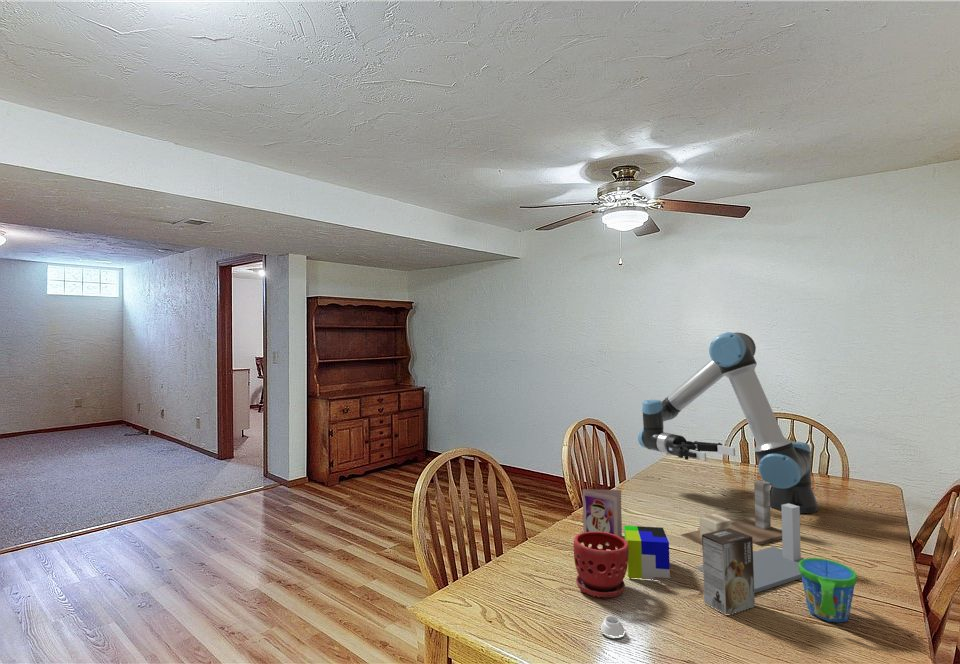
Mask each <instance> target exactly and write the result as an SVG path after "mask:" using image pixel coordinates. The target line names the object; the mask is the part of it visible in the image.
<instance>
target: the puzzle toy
mask: <svg viewBox="0 0 960 664" xmlns="http://www.w3.org/2000/svg"><path fill="white" fill-rule="evenodd" d="M624 539H625V540H626V541H627V542H628V545H629V556H628V565H627V571H626V573H627V572H628V574H627V578H628V577H629V578H642V579H651V580H652V579H653V580H659V579H658V578H664V579H671V572H670V571H671V570H670V569H671V567H670V566H671V565H670V542H669V539H668V537H667V535H666V532H665V530H664V527H657V526H641V525H640V526H639V525H638V526H637V525H624Z"/></svg>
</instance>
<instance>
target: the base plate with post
mask: <svg viewBox="0 0 960 664" xmlns="http://www.w3.org/2000/svg"><path fill="white" fill-rule="evenodd" d="M781 508H782V510H781V530H782V539H781V542H782V543H781V544H782V546H781V547H782V549H781V548H779V547H776V546H771V547H767V548H763V549H759V550H756V551H753V570H754V594H757V593H760V592H763V591H767V590H769V589H772V588H775V587H778V586H781V585H784V584H788V583H790V582H793V581H796V580H800V579H802V575H801V573H800V571H799V562H800V561H801V560H803V559H805V558H804V557H802V556H801V555H802V554H801V552H802V551H801V549H802V548H801V513H800V507H799V506H796V505H793V504H789V503H788V504H784V505H781ZM695 569H696V570H699V571H700V572H702V573H703V565H702V566H698V567H696V568H695Z"/></svg>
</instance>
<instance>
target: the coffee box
mask: <svg viewBox="0 0 960 664" xmlns="http://www.w3.org/2000/svg"><path fill="white" fill-rule="evenodd" d="M753 544H754V543H753V542H752V536H749V535H746V534H744V533H741V532H739V531H736V530H733V529H730V528H727V529H723V530H719V531H715V532H711V533H706V534H702V545H701V547H702V566H703V572H702V573H703V574H702V575H703V601H704V602H705V603H707V604H708V605H710V606H712V607H713V608H716V609H717V610H719V611H721V612H722V613H724V614H732V613H735V612H738V613H740V612H739V611H741V612H743V611H742V610H744V611H747V610H749V608H750V609H752V608H753V609H754V608H756V604H755V603H756V602H755V593H754V570H753V552H754V549H753V548H754V547H753ZM704 602H703V603H704ZM705 603H704V604H705ZM708 605H707V606H708ZM713 608H712V609H713ZM746 609H747V610H746ZM735 614H736V613H735ZM732 615H733V614H732Z"/></svg>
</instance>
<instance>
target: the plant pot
mask: <svg viewBox="0 0 960 664" xmlns="http://www.w3.org/2000/svg"><path fill="white" fill-rule="evenodd" d="M607 543H608V545H607ZM589 545H591V546H589ZM599 545H601V548H599V547H598V546H599ZM616 548H617V549H616ZM628 556H629V545H628V542H627V541H626V540H625V538H623V537H622V536H617V535H614V534H610V533H606V532H584V533H583V532H580V533H578V534H576V535H575V536H574V539H573V560H574V564H575V565H574V566H575V568H576V572H577V574H578V575H577V576H576V577H575V579H576V580H575V582H576V584H577V587H578V588H579V589H580V591H582V592H583V591H584V592H583V593H585V592H586V593H585V594H587V593H588V594H587V595H589V594H590V595H593V596H592V597H595V596H597V597H596V598H600V597H610V598H613V596H615V597H617V596H619V595H620V594H622V592H623V591H624V590H625V587H626V586H625V585H626V584H625V581H624V579H625V577H626V573H627V565H628ZM590 595H589V596H590Z"/></svg>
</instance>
